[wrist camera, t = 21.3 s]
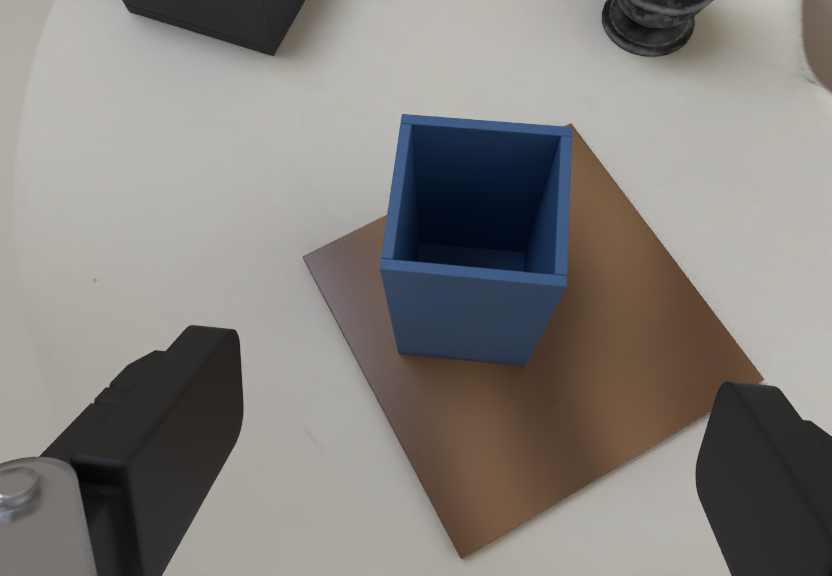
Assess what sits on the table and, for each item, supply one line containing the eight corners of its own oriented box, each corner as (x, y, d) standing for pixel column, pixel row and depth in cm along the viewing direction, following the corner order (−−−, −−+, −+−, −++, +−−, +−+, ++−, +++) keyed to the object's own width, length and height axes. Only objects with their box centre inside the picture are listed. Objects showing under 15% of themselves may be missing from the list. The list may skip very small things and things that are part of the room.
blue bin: (525, 367, 30) (566, 287, 21) (398, 353, 31) (379, 269, 21) (532, 250, 33) (572, 126, 23) (412, 239, 33) (401, 113, 23)
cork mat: (460, 559, 28) (461, 559, 28) (304, 260, 33) (302, 256, 33) (759, 381, 30) (764, 379, 30) (569, 128, 36) (571, 122, 35)
